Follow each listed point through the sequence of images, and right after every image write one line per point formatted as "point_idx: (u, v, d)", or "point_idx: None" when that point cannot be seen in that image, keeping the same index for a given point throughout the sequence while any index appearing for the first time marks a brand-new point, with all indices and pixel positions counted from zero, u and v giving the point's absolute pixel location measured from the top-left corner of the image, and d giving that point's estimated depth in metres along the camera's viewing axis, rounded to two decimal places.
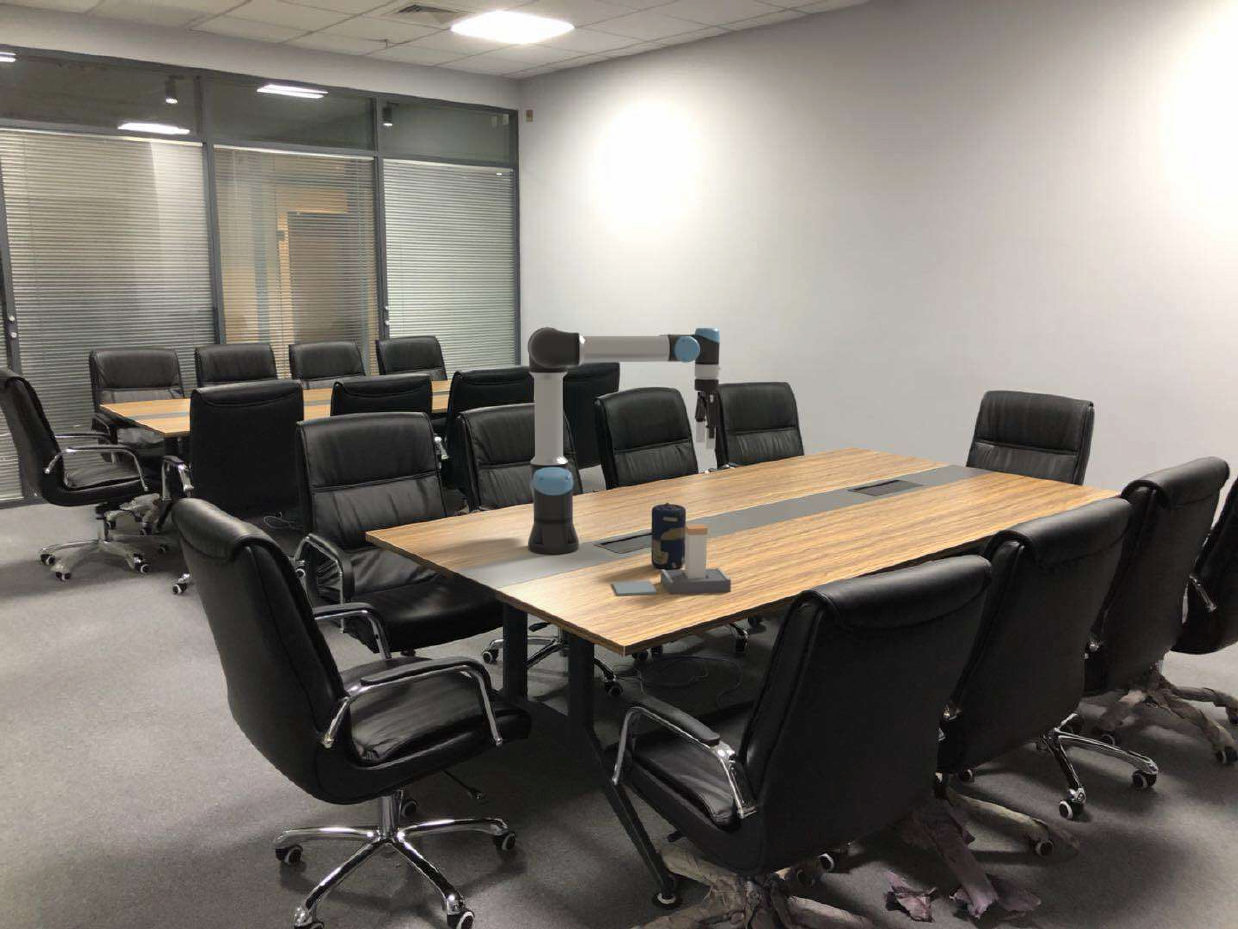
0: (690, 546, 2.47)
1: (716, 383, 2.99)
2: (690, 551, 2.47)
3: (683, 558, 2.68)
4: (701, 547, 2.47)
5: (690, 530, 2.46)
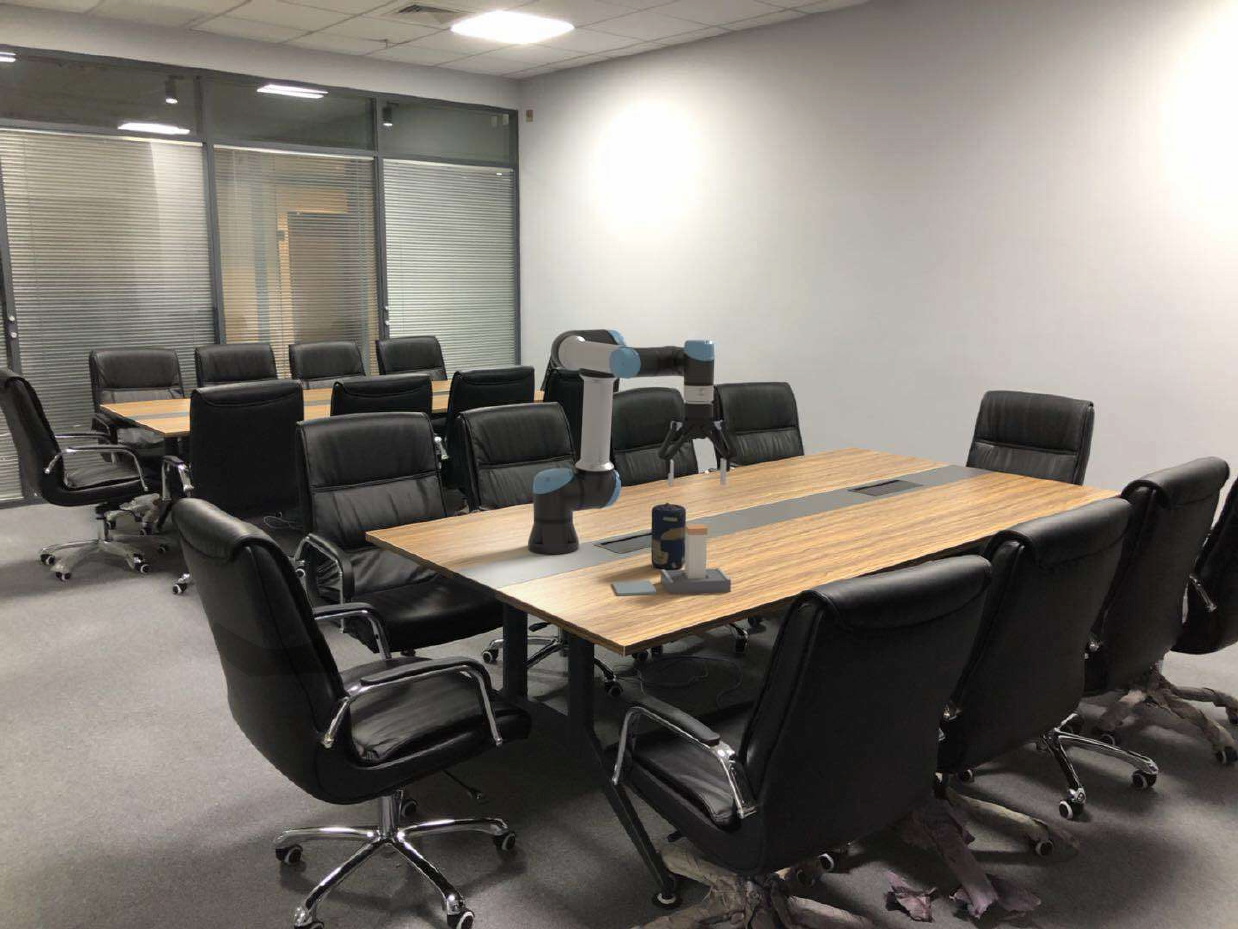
0: (690, 546, 2.47)
1: (689, 409, 2.41)
2: (690, 551, 2.47)
3: (683, 558, 2.68)
4: (701, 547, 2.47)
5: (690, 530, 2.46)
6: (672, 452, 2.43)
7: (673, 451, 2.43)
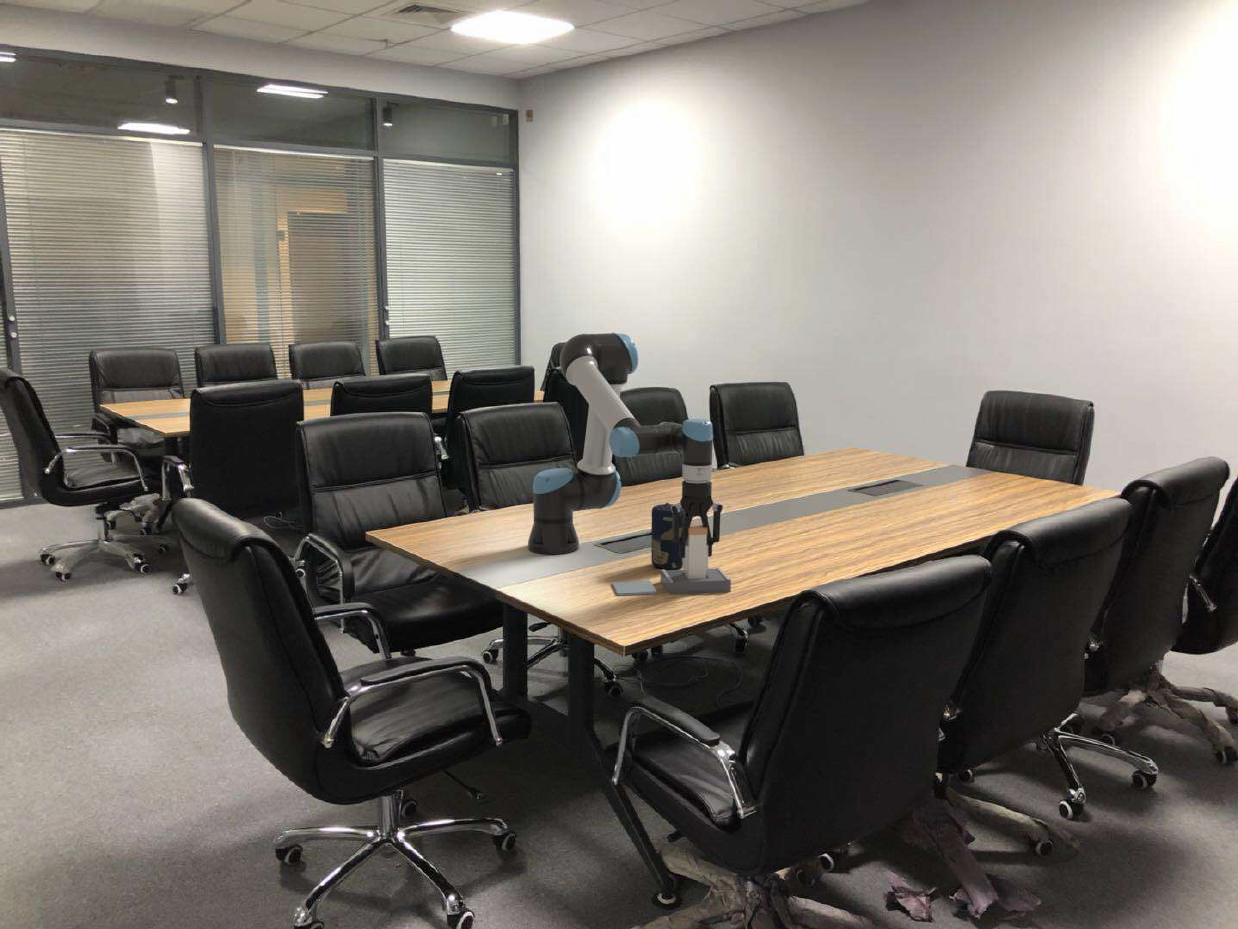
0: (690, 546, 2.47)
1: (688, 488, 2.44)
2: (690, 551, 2.47)
3: None
4: (701, 547, 2.47)
5: (690, 530, 2.46)
6: (684, 536, 2.47)
7: (684, 535, 2.47)
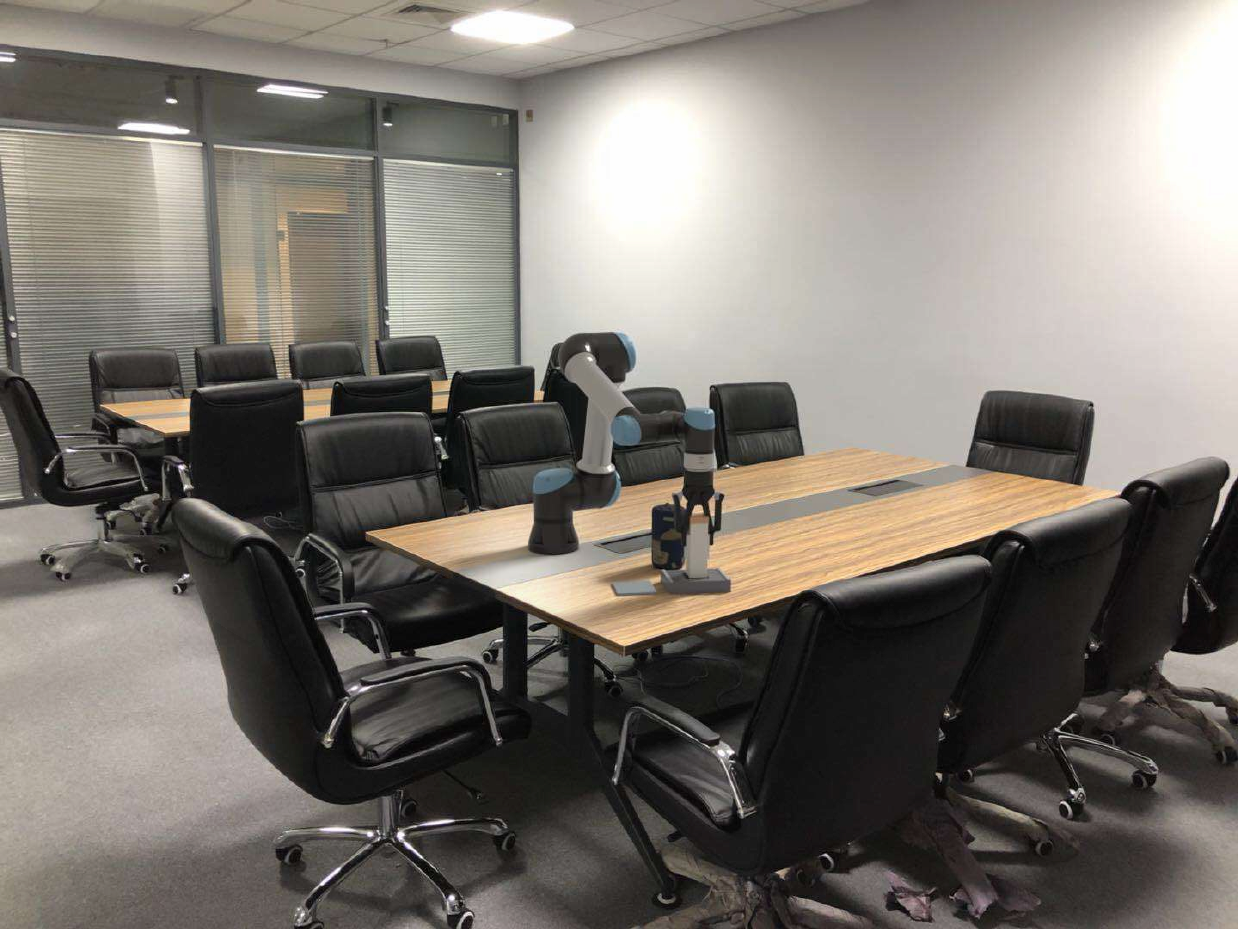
0: (692, 535, 2.47)
1: (689, 476, 2.44)
2: (691, 540, 2.47)
3: (683, 558, 2.68)
4: (702, 536, 2.47)
5: (692, 519, 2.46)
6: (685, 525, 2.47)
7: (686, 524, 2.47)
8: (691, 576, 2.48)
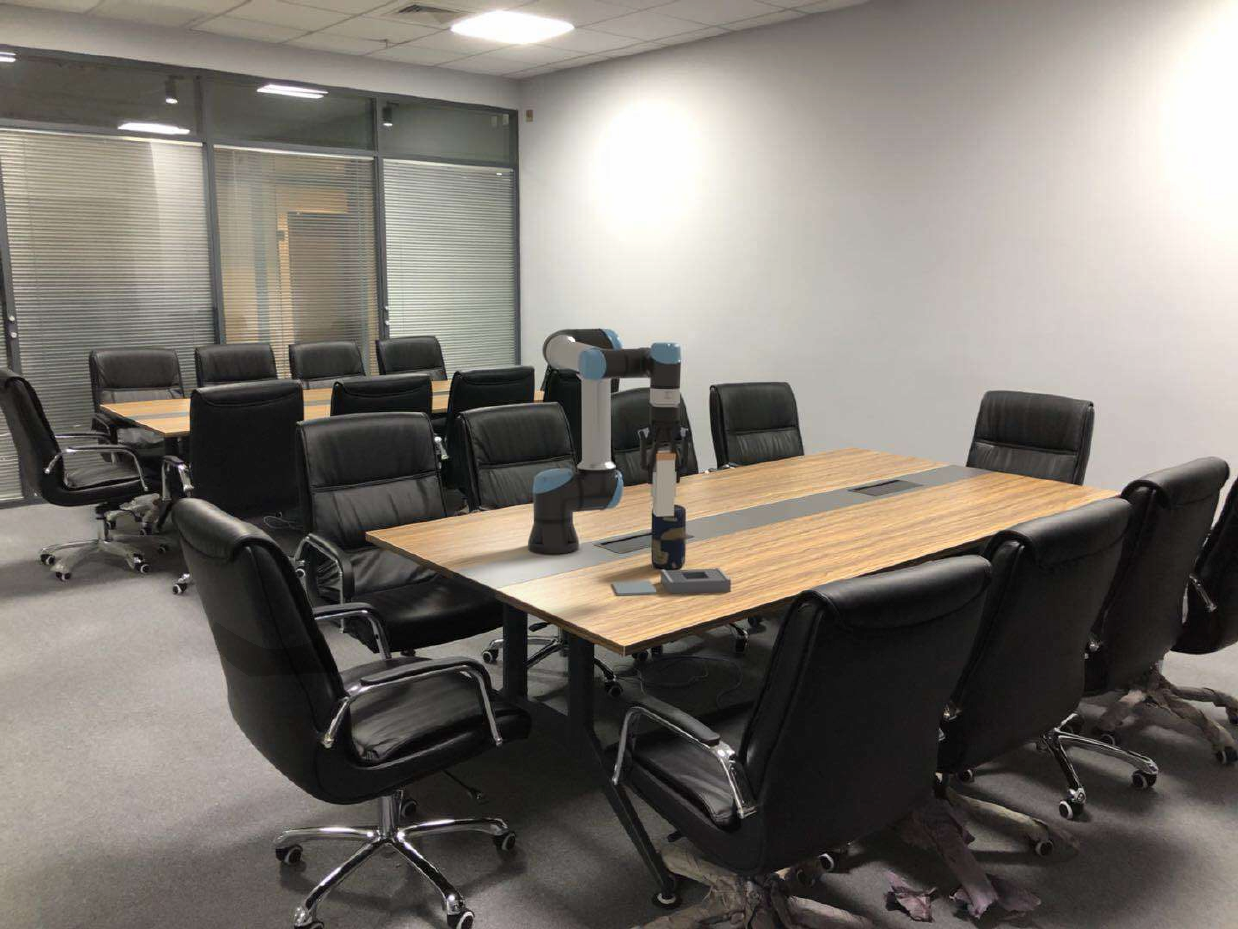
0: (658, 472, 2.43)
1: (655, 412, 2.39)
2: (658, 477, 2.43)
3: (683, 558, 2.68)
4: (669, 473, 2.43)
5: (658, 455, 2.42)
6: (651, 462, 2.43)
7: (652, 461, 2.43)
8: (658, 514, 2.45)
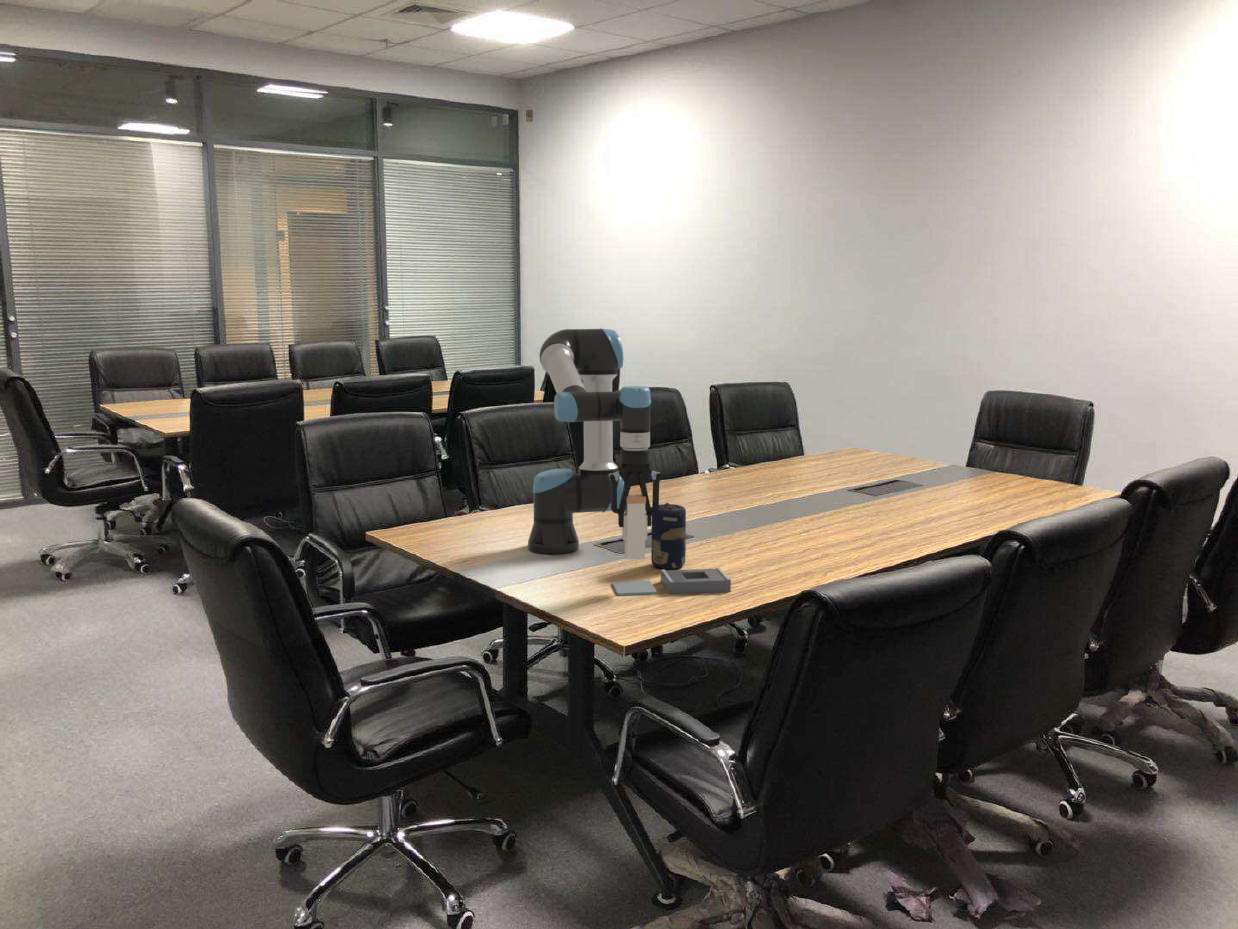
0: (628, 515, 2.43)
1: (625, 456, 2.40)
2: (628, 520, 2.43)
3: (683, 558, 2.68)
4: (639, 516, 2.43)
5: (628, 499, 2.42)
6: (622, 505, 2.43)
7: (622, 504, 2.43)
8: (629, 557, 2.45)
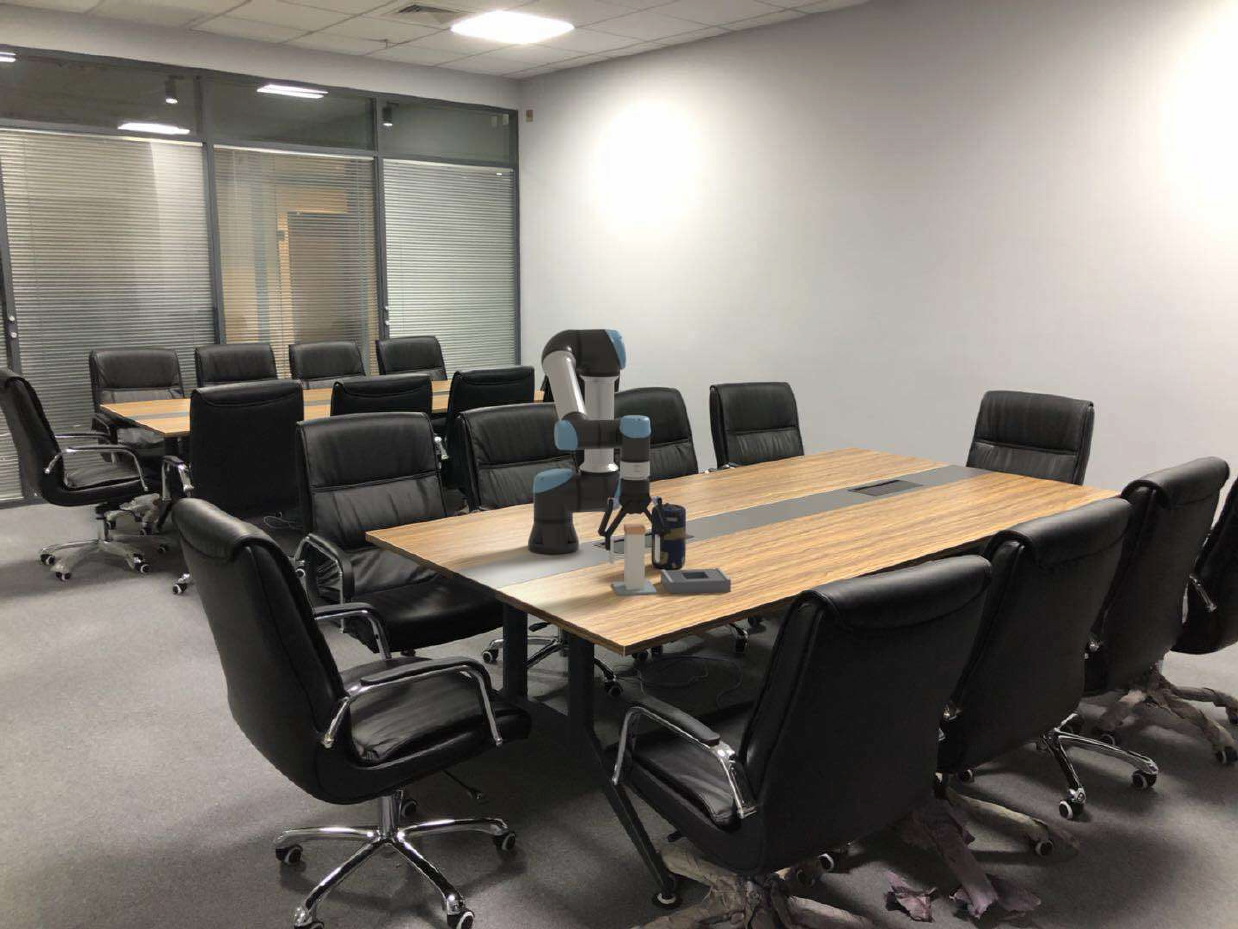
0: (628, 546, 2.44)
1: (625, 485, 2.41)
2: (628, 551, 2.45)
3: (683, 558, 2.68)
4: (639, 547, 2.45)
5: (628, 530, 2.43)
6: (611, 529, 2.44)
7: (612, 528, 2.44)
8: (628, 587, 2.46)
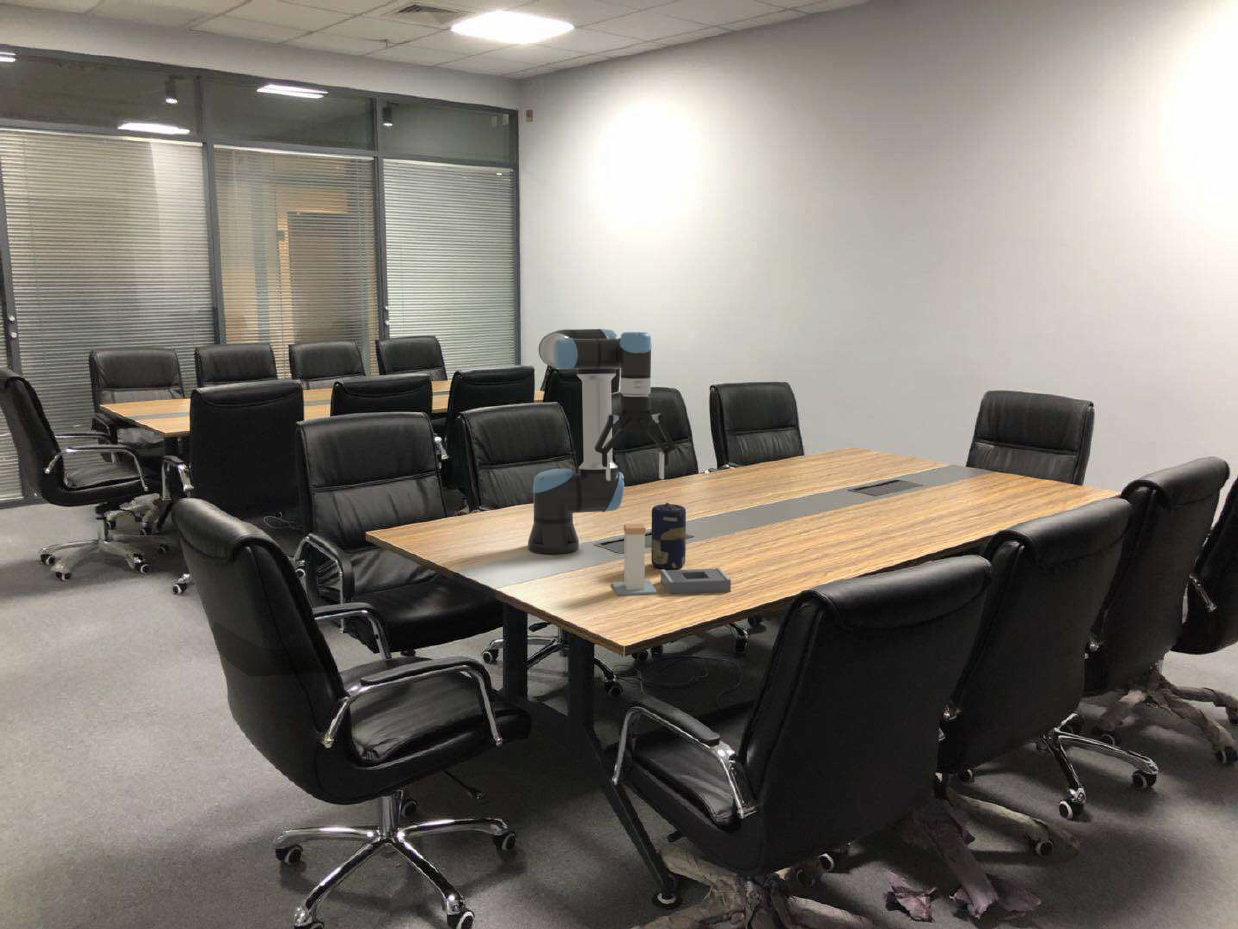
0: (628, 546, 2.44)
1: (625, 402, 2.38)
2: (628, 551, 2.45)
3: (683, 558, 2.68)
4: (639, 547, 2.45)
5: (628, 530, 2.43)
6: (609, 445, 2.40)
7: (610, 444, 2.40)
8: (628, 587, 2.46)
